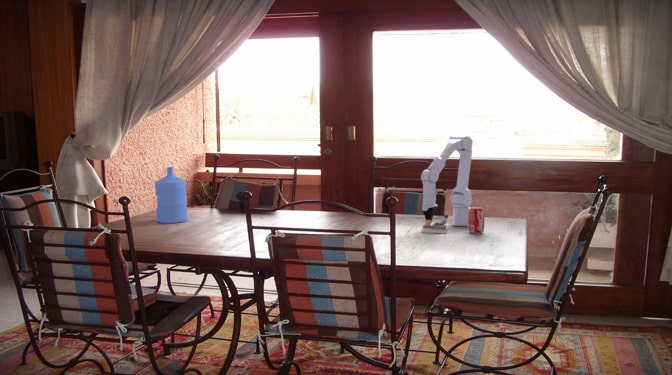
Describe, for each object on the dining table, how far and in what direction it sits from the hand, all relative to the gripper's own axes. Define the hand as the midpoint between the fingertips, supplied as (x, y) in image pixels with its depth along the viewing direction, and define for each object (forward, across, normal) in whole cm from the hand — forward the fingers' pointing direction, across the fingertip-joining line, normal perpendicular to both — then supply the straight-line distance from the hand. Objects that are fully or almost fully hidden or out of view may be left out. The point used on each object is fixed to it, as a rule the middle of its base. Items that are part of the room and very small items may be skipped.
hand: (428, 223), depth 296 cm
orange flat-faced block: (+1, -3, -1) cm, 3 cm away
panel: (+3, +1, -3) cm, 4 cm away
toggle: (0, +6, -5) cm, 8 cm away
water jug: (+3, -31, +128) cm, 132 cm away
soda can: (+3, 0, -22) cm, 23 cm away
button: (+1, -3, -6) cm, 7 cm away
